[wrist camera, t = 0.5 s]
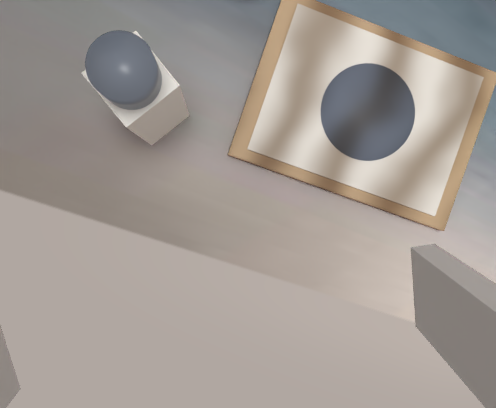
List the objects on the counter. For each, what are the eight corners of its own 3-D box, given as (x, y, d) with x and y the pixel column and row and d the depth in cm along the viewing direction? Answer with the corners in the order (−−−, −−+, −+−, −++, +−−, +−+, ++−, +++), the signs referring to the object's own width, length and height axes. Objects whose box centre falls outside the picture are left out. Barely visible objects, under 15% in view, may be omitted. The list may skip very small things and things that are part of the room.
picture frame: (227, 154, 38) (228, 153, 37) (283, -7, 38) (286, -14, 37) (438, 230, 40) (446, 231, 39) (492, 76, 40) (502, 72, 39)
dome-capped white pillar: (120, 106, 37) (64, 57, 24) (158, 76, 38) (125, 10, 24) (151, 145, 38) (115, 119, 24) (189, 115, 38) (175, 72, 24)
